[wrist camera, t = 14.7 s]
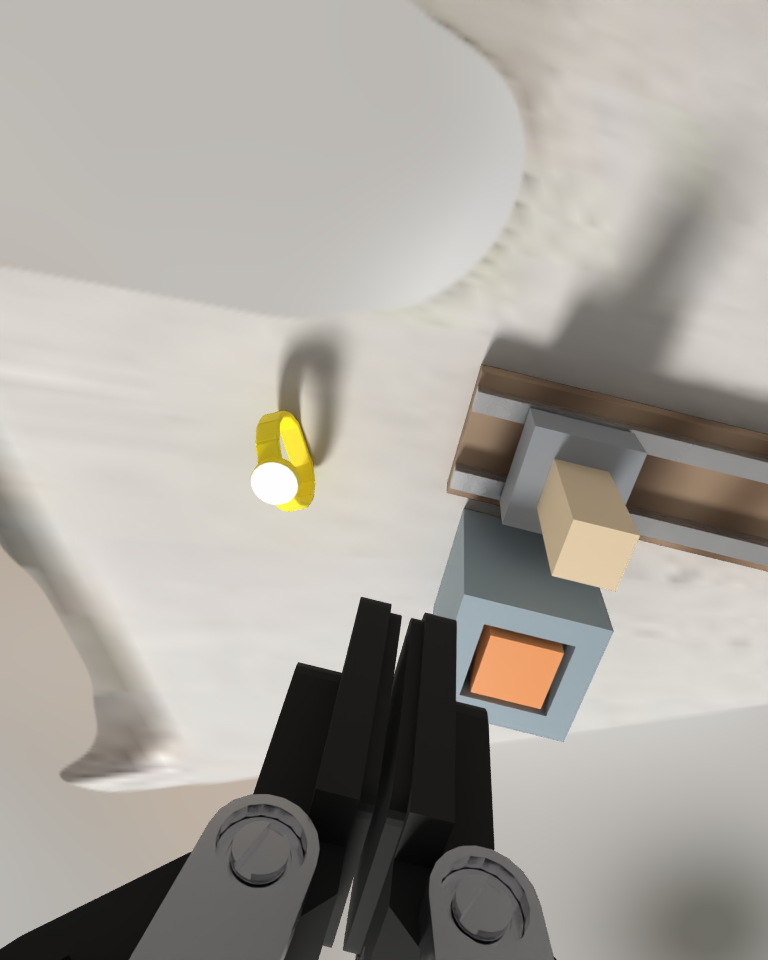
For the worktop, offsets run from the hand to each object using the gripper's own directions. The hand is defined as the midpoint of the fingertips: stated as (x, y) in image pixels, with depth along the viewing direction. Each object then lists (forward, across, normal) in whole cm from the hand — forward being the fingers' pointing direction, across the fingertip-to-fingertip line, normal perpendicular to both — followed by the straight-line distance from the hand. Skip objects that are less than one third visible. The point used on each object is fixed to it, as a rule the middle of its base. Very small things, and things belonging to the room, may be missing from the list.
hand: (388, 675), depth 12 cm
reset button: (+24, -9, +15) cm, 30 cm away
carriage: (+28, -9, +6) cm, 30 cm away
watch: (+31, +7, +10) cm, 34 cm away
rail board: (+31, -14, +6) cm, 35 cm away
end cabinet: (+31, -8, +16) cm, 36 cm away
